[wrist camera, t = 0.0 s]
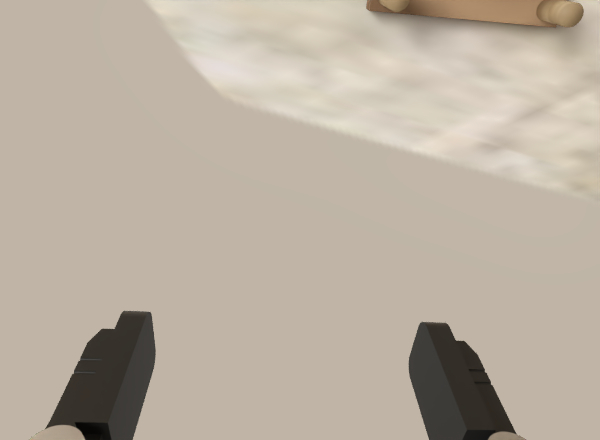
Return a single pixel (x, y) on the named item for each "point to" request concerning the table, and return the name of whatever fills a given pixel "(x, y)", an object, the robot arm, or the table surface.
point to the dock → (489, 10)
